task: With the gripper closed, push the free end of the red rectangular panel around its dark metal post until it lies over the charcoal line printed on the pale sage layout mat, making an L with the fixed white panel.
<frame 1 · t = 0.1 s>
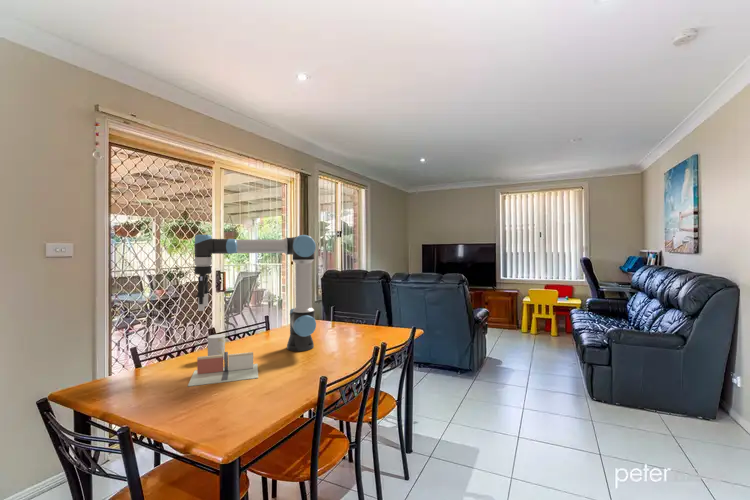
hand: (203, 308, 174), 28 cm above the table, fingers open, 13 cm apart
red rectangular panel: (210, 364, 162), point 4 cm above the table, hinge at 0.0°
layout card: (225, 374, 160), on the table
fence fixed: (226, 371, 164), resting on layout card
cup: (216, 359, 183), on the table
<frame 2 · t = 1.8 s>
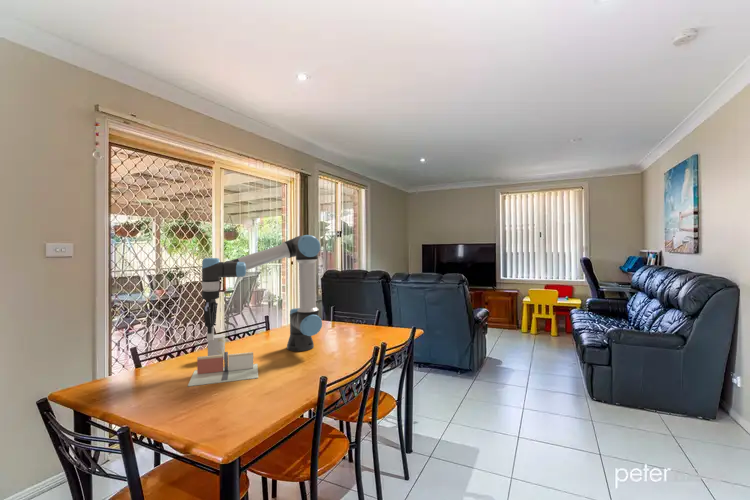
hand: (210, 339, 167), 14 cm above the table, fingers closed
nothing on the table moved.
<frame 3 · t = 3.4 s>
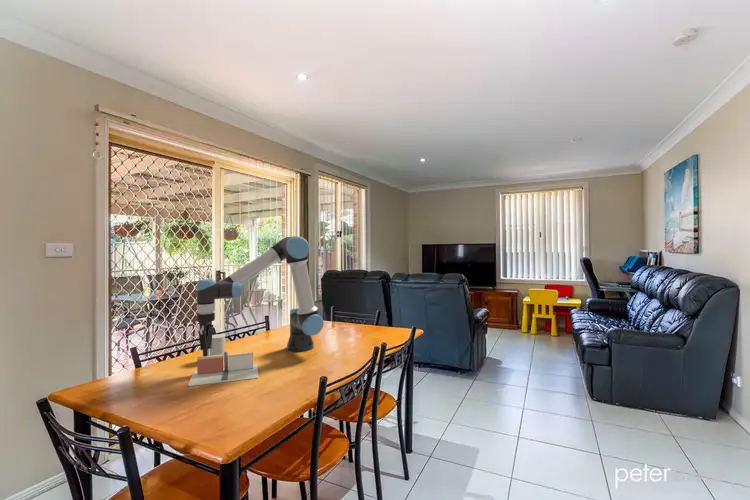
hand: (206, 363, 163), 4 cm above the table, fingers closed
red rectangular panel: (210, 364, 162), point 4 cm above the table, hinge at 0.6°, touching gripper
everything else where it was.
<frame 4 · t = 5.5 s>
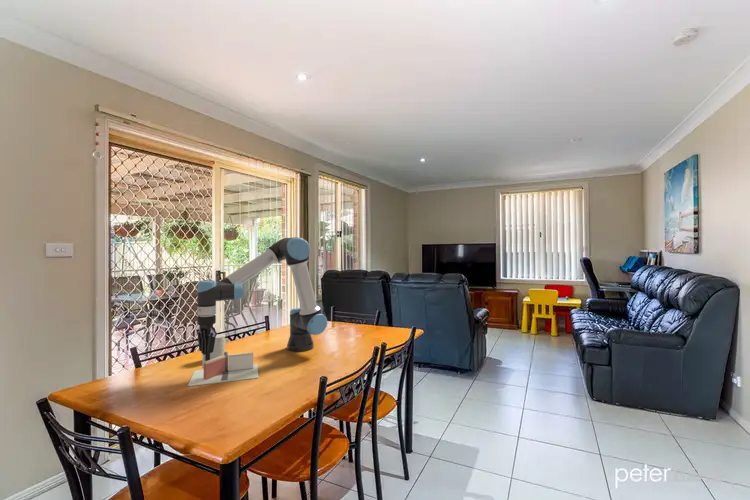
hand: (206, 367, 157), 4 cm above the table, fingers closed
red rectangular panel: (214, 366, 158), point 4 cm above the table, hinge at 48.2°, touching gripper
everything else where it was.
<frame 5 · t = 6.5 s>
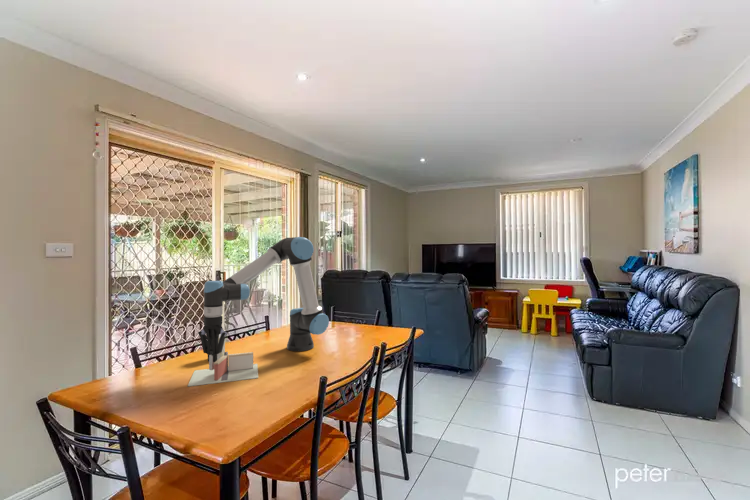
hand: (212, 369, 155), 4 cm above the table, fingers closed
red rectangular panel: (220, 367, 157), point 4 cm above the table, hinge at 74.0°, touching gripper
everything else where it was.
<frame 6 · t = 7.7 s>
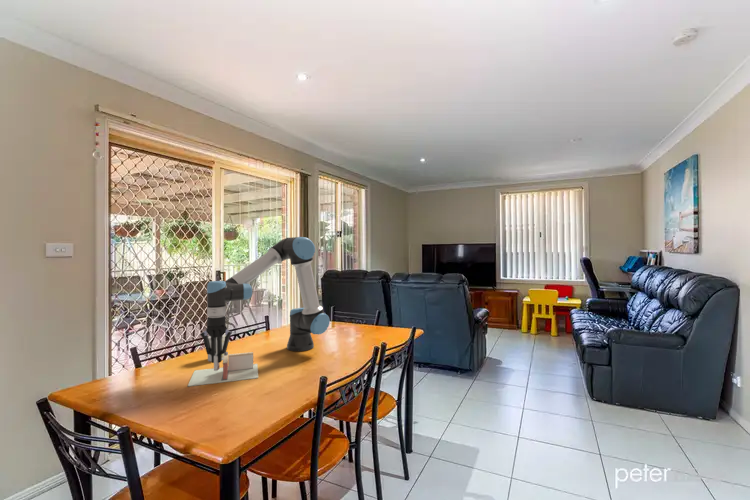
hand: (216, 369, 154), 4 cm above the table, fingers closed
red rectangular panel: (225, 366, 158), point 4 cm above the table, hinge at 91.4°
everything else where it was.
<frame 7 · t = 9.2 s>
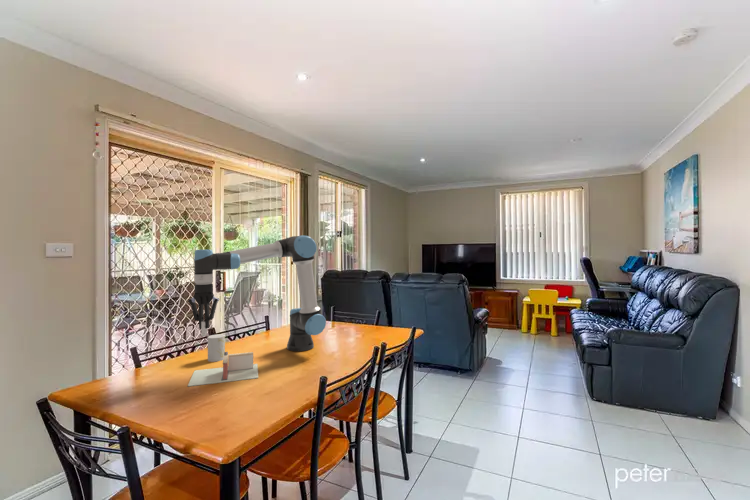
hand: (204, 335, 159), 18 cm above the table, fingers closed
nothing on the table moved.
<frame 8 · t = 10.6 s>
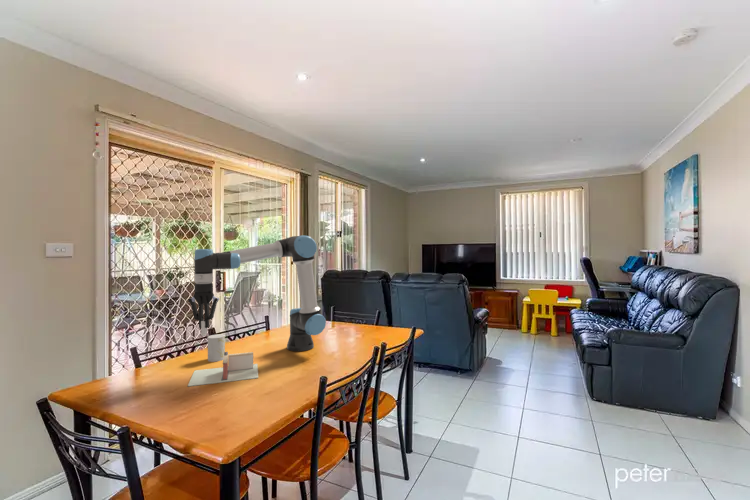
hand: (204, 334, 159), 18 cm above the table, fingers closed
nothing on the table moved.
at the end: red rectangular panel at +91° (first picture: +0°); cup moved 0.2 cm from its start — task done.
